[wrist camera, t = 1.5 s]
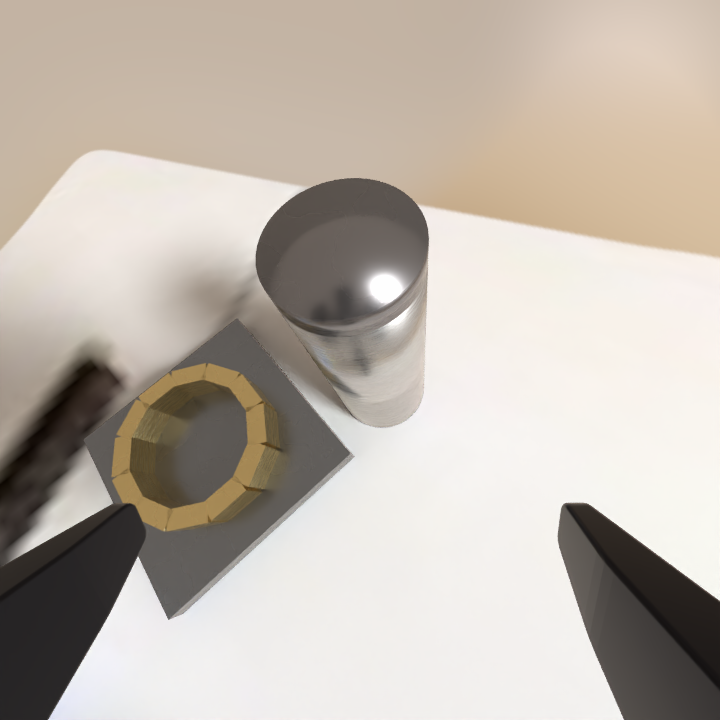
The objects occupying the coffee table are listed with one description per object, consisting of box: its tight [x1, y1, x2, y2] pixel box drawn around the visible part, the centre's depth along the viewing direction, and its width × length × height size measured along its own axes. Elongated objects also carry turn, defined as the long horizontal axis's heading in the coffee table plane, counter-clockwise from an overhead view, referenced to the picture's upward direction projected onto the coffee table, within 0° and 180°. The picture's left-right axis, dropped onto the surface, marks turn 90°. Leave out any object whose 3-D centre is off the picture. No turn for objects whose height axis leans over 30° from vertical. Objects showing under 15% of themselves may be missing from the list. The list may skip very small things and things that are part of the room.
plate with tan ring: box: [84, 319, 354, 620], centre depth 21 cm, size 12×12×3 cm
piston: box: [256, 178, 429, 428], centre depth 16 cm, size 5×5×13 cm
